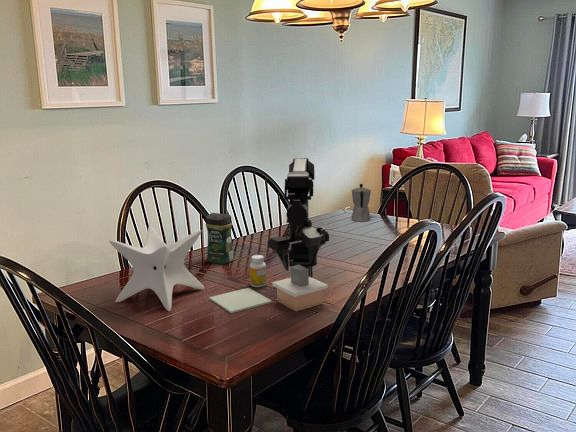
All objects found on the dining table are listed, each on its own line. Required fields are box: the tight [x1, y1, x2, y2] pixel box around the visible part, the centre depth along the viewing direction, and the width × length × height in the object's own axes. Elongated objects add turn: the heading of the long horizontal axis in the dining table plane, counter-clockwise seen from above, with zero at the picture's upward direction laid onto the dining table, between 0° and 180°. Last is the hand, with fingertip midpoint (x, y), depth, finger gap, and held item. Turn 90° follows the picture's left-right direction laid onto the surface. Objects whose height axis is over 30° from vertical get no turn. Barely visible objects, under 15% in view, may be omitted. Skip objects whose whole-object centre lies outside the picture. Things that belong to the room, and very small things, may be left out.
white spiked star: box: [108, 225, 205, 312], centre depth 171 cm, size 20×20×20 cm
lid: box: [271, 265, 329, 297], centre depth 164 cm, size 12×12×6 cm
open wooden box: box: [276, 288, 324, 312], centre depth 165 cm, size 10×10×5 cm
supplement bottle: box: [249, 254, 267, 288], centre depth 181 cm, size 5×5×10 cm
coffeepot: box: [351, 183, 372, 223], centre depth 267 cm, size 15×9×18 cm, turn 175°
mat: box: [208, 287, 273, 314], centre depth 168 cm, size 14×14×1 cm
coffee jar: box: [205, 212, 234, 265], centre depth 206 cm, size 10×8×19 cm
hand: (299, 267), depth 164 cm, fingers open, 9 cm apart
